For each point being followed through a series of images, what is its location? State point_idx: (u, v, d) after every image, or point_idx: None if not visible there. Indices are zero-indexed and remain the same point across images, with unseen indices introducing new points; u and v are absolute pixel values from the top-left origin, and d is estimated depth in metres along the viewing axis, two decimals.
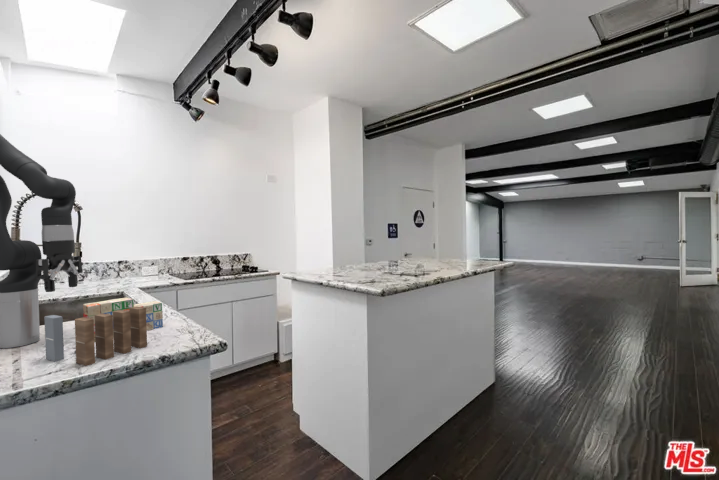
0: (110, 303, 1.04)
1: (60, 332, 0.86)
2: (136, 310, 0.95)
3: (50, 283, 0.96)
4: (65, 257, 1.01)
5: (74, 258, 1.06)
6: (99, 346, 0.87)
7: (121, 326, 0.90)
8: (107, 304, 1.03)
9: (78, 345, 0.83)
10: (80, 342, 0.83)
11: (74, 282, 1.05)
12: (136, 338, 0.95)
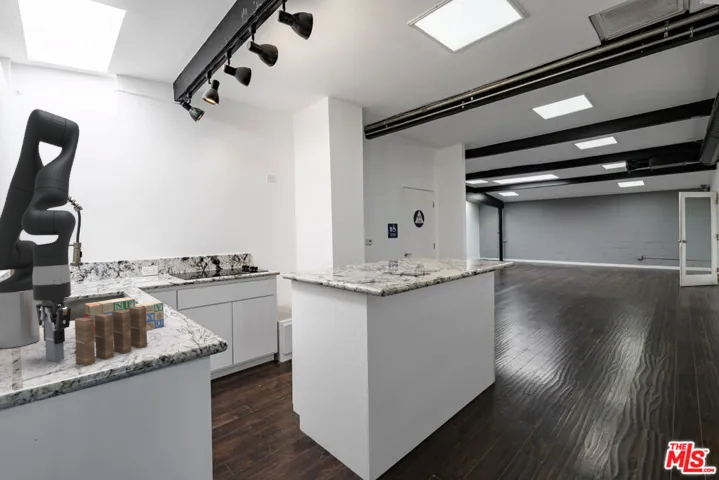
0: (112, 303, 1.04)
1: None
2: (136, 310, 0.95)
3: None
4: None
5: None
6: (99, 346, 0.87)
7: (121, 326, 0.90)
8: (109, 304, 1.03)
9: (78, 345, 0.83)
10: (80, 342, 0.83)
11: None
12: (136, 338, 0.95)
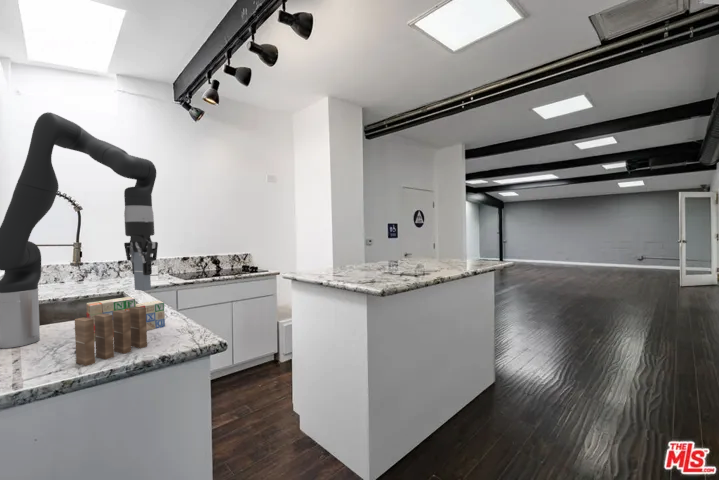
0: (112, 302, 1.05)
1: None
2: (136, 310, 0.95)
3: None
4: None
5: None
6: (99, 346, 0.87)
7: (121, 326, 0.90)
8: (109, 303, 1.04)
9: (78, 345, 0.83)
10: (80, 342, 0.83)
11: None
12: (136, 338, 0.95)
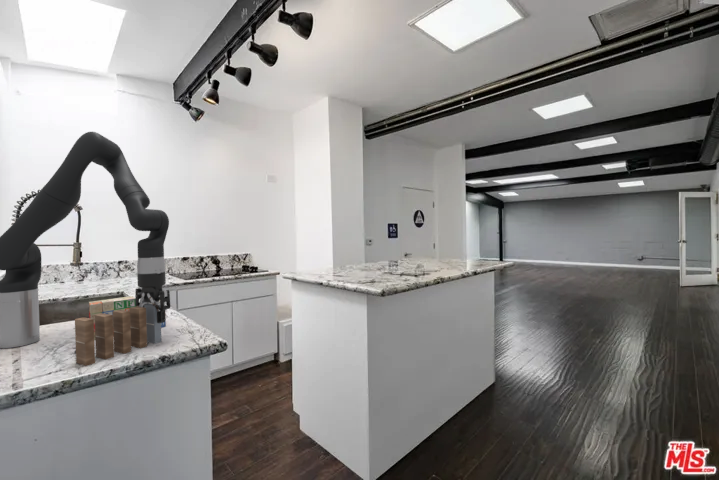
0: (112, 302, 1.06)
1: None
2: (136, 310, 0.95)
3: None
4: None
5: None
6: (99, 346, 0.87)
7: (121, 326, 0.90)
8: (109, 303, 1.05)
9: (78, 345, 0.83)
10: (80, 342, 0.83)
11: None
12: (136, 338, 0.95)
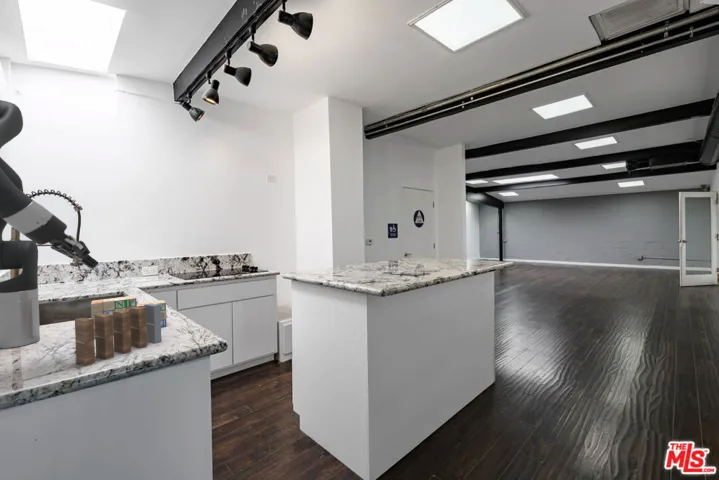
0: (113, 301, 1.07)
1: (158, 318, 1.00)
2: (136, 310, 0.95)
3: (90, 257, 0.88)
4: None
5: None
6: (99, 346, 0.87)
7: (121, 326, 0.90)
8: (109, 302, 1.06)
9: (78, 345, 0.83)
10: (80, 342, 0.83)
11: None
12: (136, 338, 0.95)
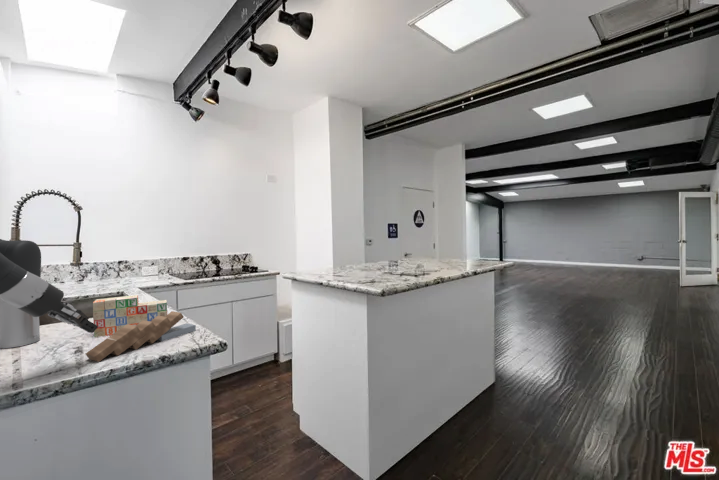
0: (114, 300, 1.08)
1: (184, 332, 1.07)
2: (177, 313, 1.06)
3: (89, 322, 0.84)
4: None
5: None
6: None
7: None
8: (111, 301, 1.07)
9: (106, 341, 0.89)
10: (112, 339, 0.89)
11: None
12: None
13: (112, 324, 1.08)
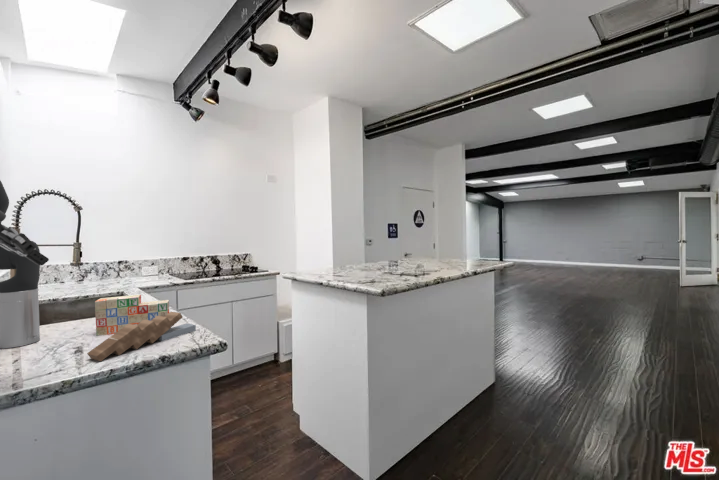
0: (115, 300, 1.09)
1: (184, 332, 1.07)
2: (176, 313, 1.07)
3: (38, 253, 0.76)
4: None
5: None
6: None
7: None
8: (112, 300, 1.09)
9: (108, 340, 0.90)
10: (113, 339, 0.90)
11: None
12: None
13: (114, 323, 1.09)
